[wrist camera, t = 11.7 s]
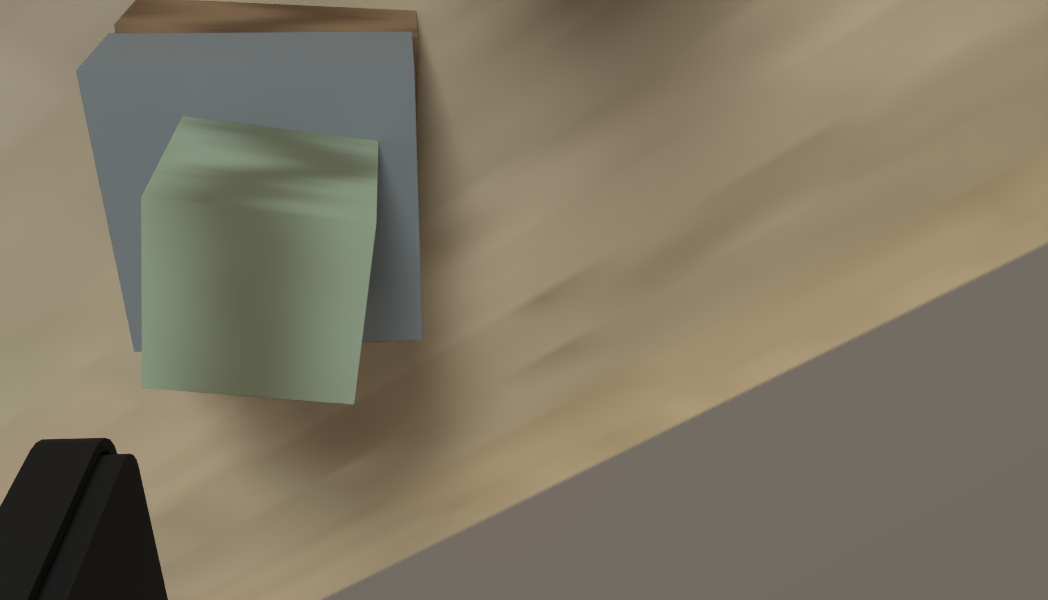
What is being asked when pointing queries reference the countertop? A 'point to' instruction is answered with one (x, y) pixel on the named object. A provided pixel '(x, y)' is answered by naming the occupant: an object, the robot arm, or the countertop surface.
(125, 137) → the slab top
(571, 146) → the countertop surface
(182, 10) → the slab bottom
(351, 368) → the sage block
